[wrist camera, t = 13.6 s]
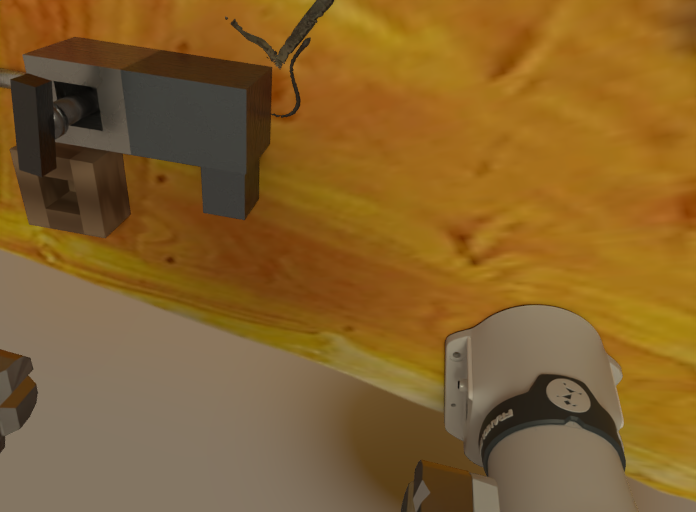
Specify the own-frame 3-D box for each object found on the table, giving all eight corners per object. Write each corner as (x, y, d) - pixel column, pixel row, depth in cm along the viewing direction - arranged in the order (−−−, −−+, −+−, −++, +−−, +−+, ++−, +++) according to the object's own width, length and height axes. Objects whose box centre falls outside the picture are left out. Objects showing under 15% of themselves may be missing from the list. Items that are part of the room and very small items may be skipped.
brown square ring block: (130, 214, 57) (105, 238, 53) (59, 201, 57) (29, 224, 53) (120, 143, 52) (92, 163, 48) (44, 130, 53) (9, 149, 49)
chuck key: (124, 56, 46) (42, 89, 37) (122, 131, 49) (48, 179, 40) (92, 46, 46) (3, 77, 37) (93, 122, 49) (12, 168, 40)
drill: (272, 67, 46) (246, 89, 40) (268, 200, 53) (246, 235, 47) (1, 25, 48) (-61, 41, 42) (32, 159, 55) (-17, 189, 49)
